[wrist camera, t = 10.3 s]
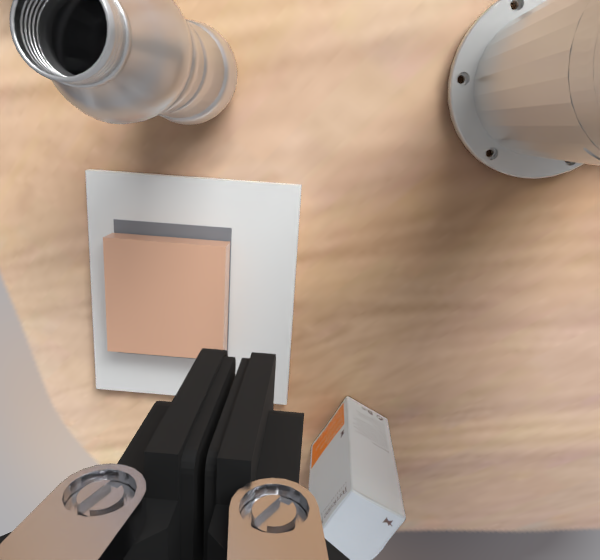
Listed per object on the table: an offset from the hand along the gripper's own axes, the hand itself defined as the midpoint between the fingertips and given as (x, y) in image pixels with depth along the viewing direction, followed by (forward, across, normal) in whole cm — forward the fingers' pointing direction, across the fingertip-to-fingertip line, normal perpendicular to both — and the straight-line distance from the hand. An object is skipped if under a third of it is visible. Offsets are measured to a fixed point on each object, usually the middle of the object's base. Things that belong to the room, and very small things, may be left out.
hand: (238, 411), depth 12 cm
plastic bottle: (+29, +8, -9) cm, 32 cm away
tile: (+27, +5, +7) cm, 28 cm away
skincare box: (+29, -5, +19) cm, 35 cm away
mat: (+29, +8, +7) cm, 31 cm away
